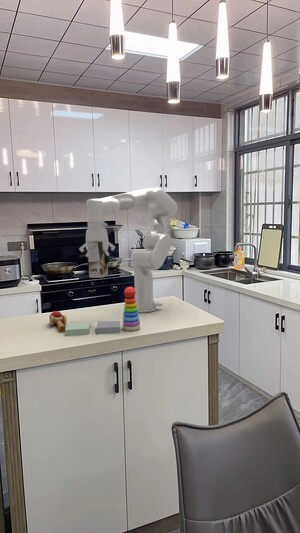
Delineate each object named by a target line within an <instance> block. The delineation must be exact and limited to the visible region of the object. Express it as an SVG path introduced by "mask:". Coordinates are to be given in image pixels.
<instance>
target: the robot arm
mask: <svg viewBox="0 0 300 533" xmlns="http://www.w3.org/2000/svg"><path fill="white" fill-rule="evenodd" d="M85 204H86V215H87V216H86V218H87V229H86V232H85V243H84V244H83V245H82V246H80V247H79V249H78V250H79V251H80V252H81V253H82V254H83V255H84V256H85V257H86V264H88V266H89V261H88V242H103V250H104V252H105V253H106V264H107V265H109V263H110V255H111V254H112V253H113V252H114V250H115V249H116V246H115V245H114V244H113V243H111V242H109V235H108V231H107V228H106V227H108V223H106V222H105V216H106V215H109V216H111V215H116V214H118V213H119V212H120V211H131V210H135V209H138V208H142V207H147V206H148V212H149V216H150V220H151V222H150V226H149V228H148V230H147V232H146V234H145V236H144V238H143V240H142V248H144V249H138V250H135V251H134V252H133V253H132V255H131V264H132V268H133V278H134V279H133V280H134V289H135V291H136V294H135V296H134V298H136V303H137V306H136V307H137V308H138V309H137V311H138V313H152V312H155V311H156V310H157V307H162V306H163V302H160V301H155V300H154V285H153V284H154V283H153V281H154V279H153V272H152V270H158V269H160V268H161V267H162V266H163V264H164V263H165V260H166V258H167V256H168V255H169V252H170V250H171V247H172V238H171V236H170V234H169V233H166V230H167V224H166V221H165V219H164V218H165V217H166V218H169V217H173V216H175V215H176V214H177V212H178V204H177V202H176V201H175V199H173V197H171V196H170V195H169V194H168V193H167V192H166V191H165V190H164V189H162V188H160V187H146V188H142V189H137V190H133V191H128V192H124V193H120V194H116V195H115V194H114V195H112V196H106V197H102V198H88V199H87V200H86V203H85ZM109 247H110V250H109ZM84 249H86V250H84ZM86 251H87V252H86Z"/></svg>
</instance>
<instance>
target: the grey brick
mask: <svg viewBox="0 0 300 533" xmlns="http://www.w3.org/2000/svg"><path fill="white" fill-rule="evenodd" d="M95 327H96V329H95V331H96V335H103V334H107V335H108V334H121V320H107V321H97V324H96V326H95Z"/></svg>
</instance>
